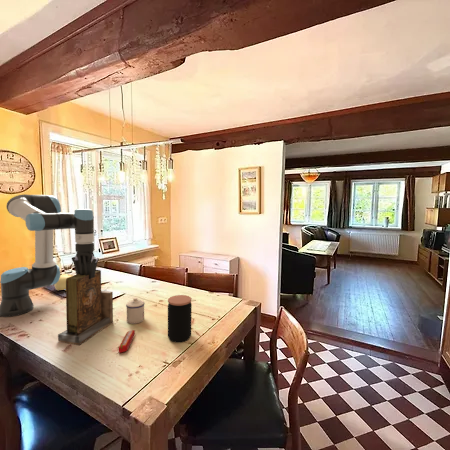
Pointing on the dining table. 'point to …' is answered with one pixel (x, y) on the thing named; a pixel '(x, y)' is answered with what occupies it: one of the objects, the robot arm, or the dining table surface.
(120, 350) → the candy bar
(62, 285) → the sculpture
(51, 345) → the dining table surface
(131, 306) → the teacup with lid
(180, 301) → the coffee jar
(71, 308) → the book
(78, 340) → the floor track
